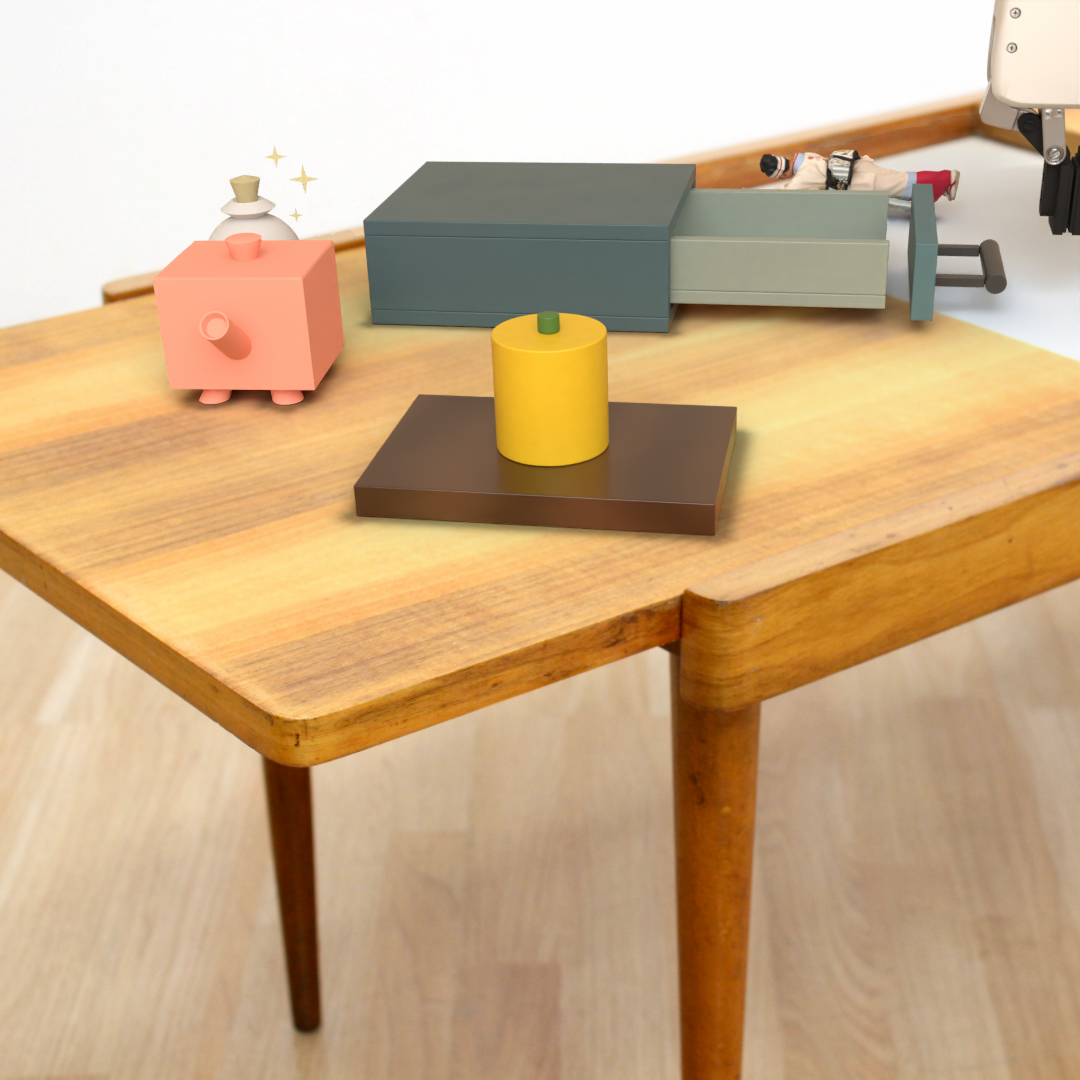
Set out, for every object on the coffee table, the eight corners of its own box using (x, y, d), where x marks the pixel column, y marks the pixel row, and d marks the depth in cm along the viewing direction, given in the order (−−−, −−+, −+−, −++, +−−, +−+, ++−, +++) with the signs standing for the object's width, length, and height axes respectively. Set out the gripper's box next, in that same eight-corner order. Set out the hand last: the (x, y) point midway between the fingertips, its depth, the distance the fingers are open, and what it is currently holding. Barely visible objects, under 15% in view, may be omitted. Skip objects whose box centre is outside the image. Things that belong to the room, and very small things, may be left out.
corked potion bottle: (222, 295, 99) (201, 136, 94) (338, 292, 98) (323, 133, 94) (201, 326, 93) (177, 160, 89) (324, 323, 93) (306, 156, 88)
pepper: (617, 424, 74) (614, 297, 71) (599, 469, 69) (596, 335, 66) (510, 420, 75) (503, 294, 72) (485, 464, 70) (477, 331, 67)
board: (736, 434, 76) (737, 406, 75) (714, 536, 66) (715, 504, 66) (420, 421, 79) (418, 393, 78) (356, 516, 69) (353, 485, 69)
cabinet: (695, 259, 102) (696, 163, 99) (668, 332, 89) (668, 225, 86) (433, 254, 105) (426, 161, 102) (372, 324, 93) (362, 220, 90)
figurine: (942, 204, 114) (738, 180, 115) (964, 149, 106) (745, 124, 107) (933, 280, 112) (727, 255, 114) (955, 231, 105) (733, 204, 106)
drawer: (994, 254, 97) (1000, 184, 95) (1008, 323, 86) (1016, 245, 84) (665, 247, 101) (665, 180, 99) (637, 312, 90) (636, 238, 88)
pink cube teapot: (151, 431, 79) (125, 274, 75) (222, 349, 90) (202, 208, 86) (300, 433, 78) (282, 274, 74) (354, 350, 89) (340, 207, 85)
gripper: (1244, -125, 83) (1190, 213, 91) (956, -119, 86) (929, 209, 94) (1275, -113, 76) (1214, 251, 85) (962, -106, 79) (933, 244, 87)
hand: (1064, 228), depth 89 cm, fingers closed
